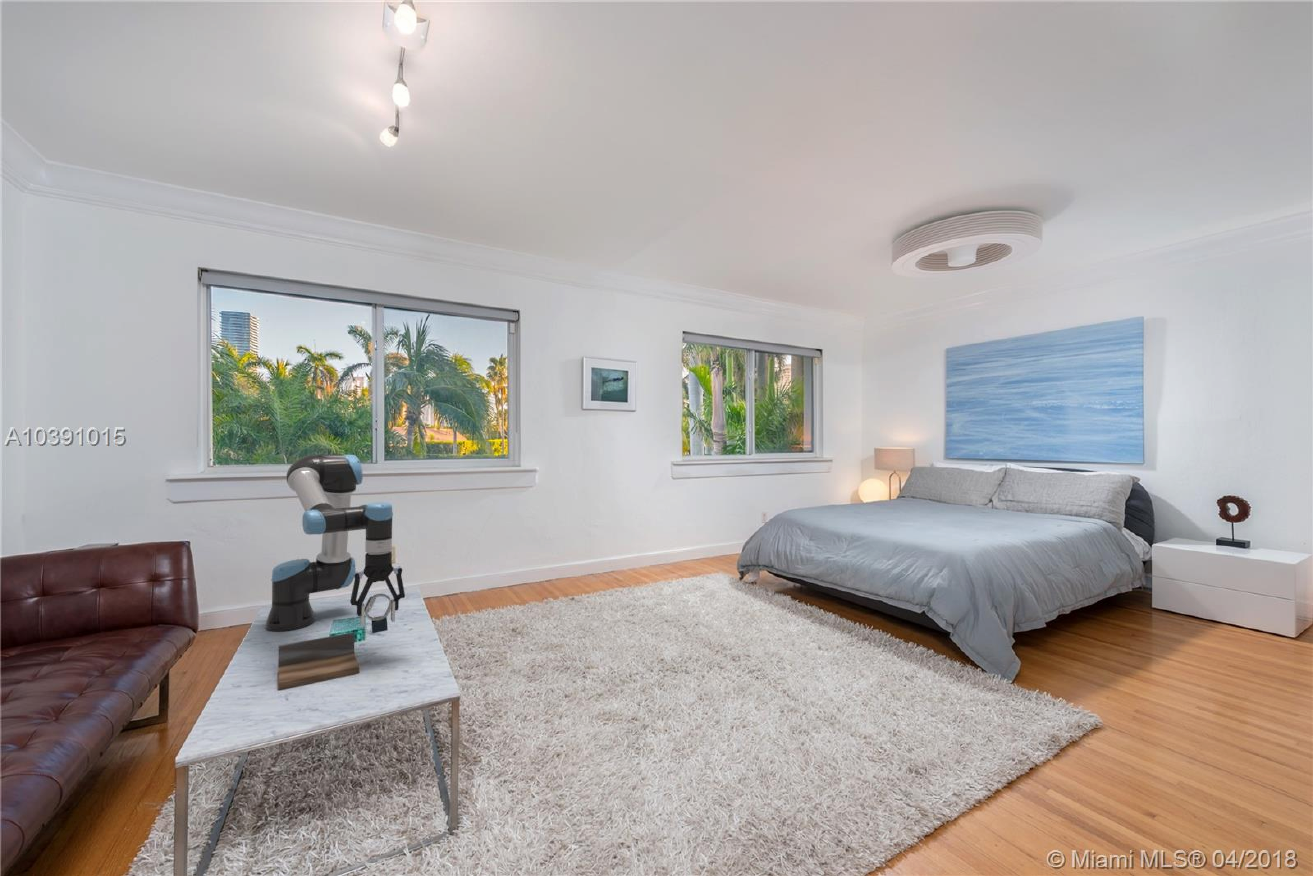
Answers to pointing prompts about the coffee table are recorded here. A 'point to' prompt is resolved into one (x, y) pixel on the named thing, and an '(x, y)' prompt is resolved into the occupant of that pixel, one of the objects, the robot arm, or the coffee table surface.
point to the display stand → (316, 660)
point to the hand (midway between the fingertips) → (377, 623)
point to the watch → (381, 621)
